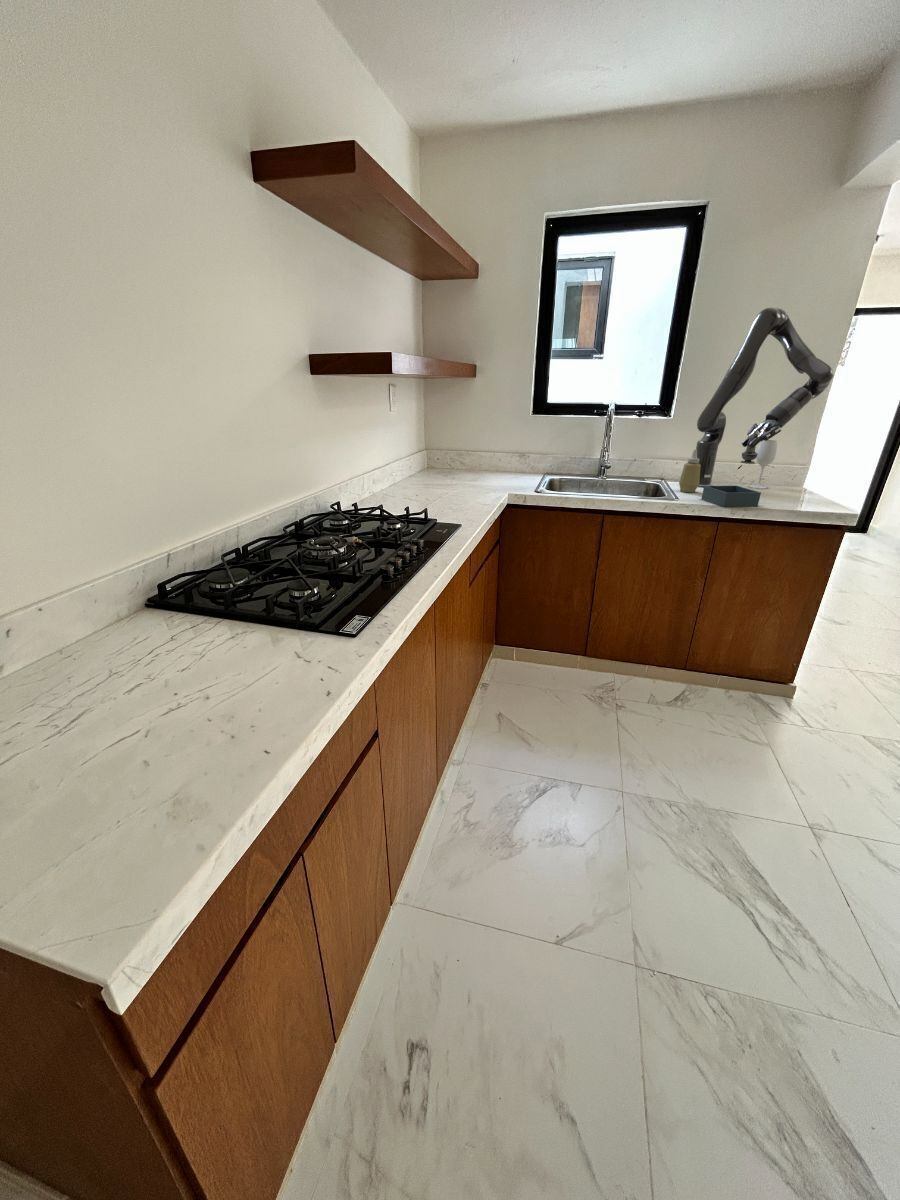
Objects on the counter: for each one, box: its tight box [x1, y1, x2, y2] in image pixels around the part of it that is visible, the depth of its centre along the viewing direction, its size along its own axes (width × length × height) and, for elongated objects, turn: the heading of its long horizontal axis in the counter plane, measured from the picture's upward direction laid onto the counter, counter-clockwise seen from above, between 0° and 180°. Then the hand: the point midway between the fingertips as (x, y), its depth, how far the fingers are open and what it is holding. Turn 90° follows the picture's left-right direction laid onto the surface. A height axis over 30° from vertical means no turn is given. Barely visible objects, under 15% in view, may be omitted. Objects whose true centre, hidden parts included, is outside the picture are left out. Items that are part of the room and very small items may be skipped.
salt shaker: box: [740, 431, 758, 465], centre depth 196 cm, size 6×6×12 cm
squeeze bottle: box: [678, 449, 701, 494], centre depth 219 cm, size 8×8×18 cm
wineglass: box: [749, 439, 778, 490], centre depth 230 cm, size 8×8×21 cm
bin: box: [701, 485, 762, 508], centre depth 200 cm, size 15×14×6 cm
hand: (746, 445), depth 195 cm, fingers closed on salt shaker, 3 cm apart
